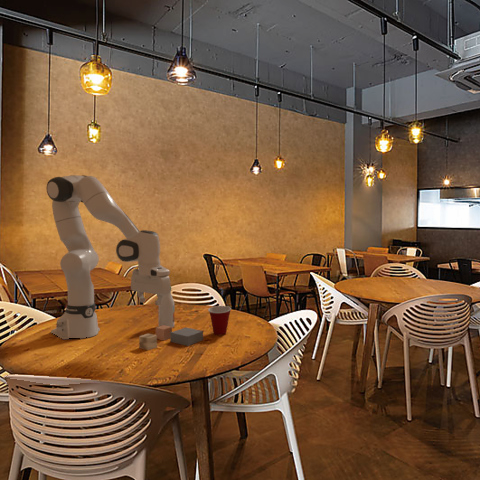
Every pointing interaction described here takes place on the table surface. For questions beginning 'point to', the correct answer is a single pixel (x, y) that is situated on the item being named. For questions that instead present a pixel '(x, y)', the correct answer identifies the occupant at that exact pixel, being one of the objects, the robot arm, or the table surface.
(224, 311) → the plastic cup
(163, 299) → the milk bottle
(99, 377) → the table surface
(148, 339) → the maple cube
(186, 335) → the slate base
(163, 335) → the terracotta cube
